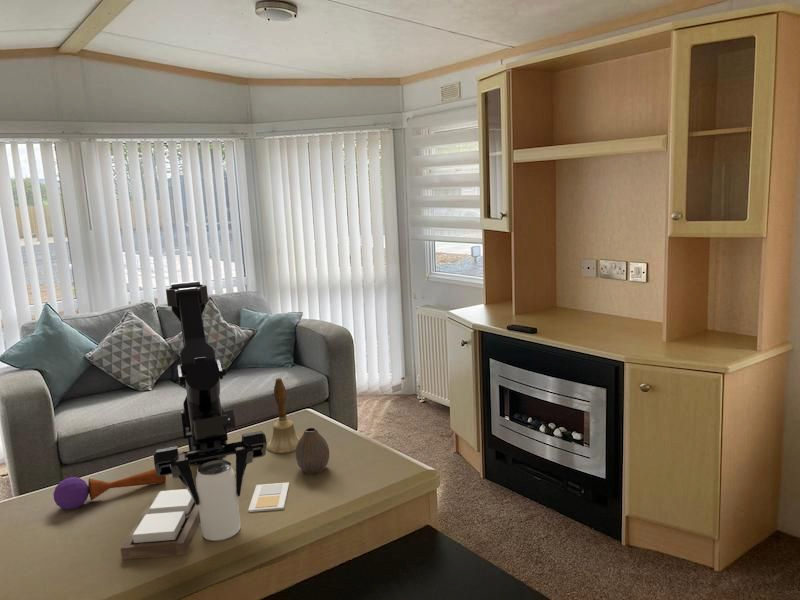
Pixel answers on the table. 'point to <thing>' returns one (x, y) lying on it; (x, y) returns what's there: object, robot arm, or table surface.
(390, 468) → the table surface
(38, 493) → the table surface
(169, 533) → the outer pad
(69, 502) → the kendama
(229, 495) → the can
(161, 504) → the inner pad
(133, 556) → the button board
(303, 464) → the vase
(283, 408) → the hand bell
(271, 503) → the pattern card
